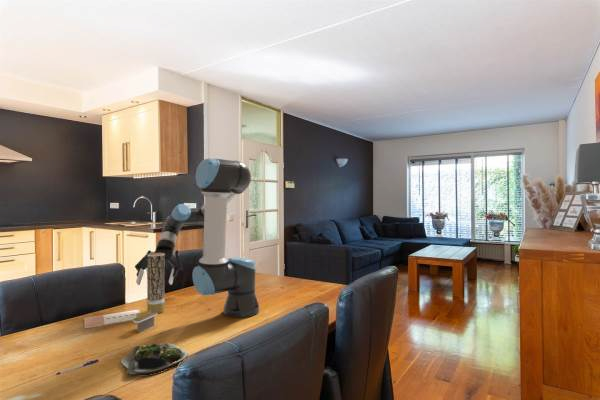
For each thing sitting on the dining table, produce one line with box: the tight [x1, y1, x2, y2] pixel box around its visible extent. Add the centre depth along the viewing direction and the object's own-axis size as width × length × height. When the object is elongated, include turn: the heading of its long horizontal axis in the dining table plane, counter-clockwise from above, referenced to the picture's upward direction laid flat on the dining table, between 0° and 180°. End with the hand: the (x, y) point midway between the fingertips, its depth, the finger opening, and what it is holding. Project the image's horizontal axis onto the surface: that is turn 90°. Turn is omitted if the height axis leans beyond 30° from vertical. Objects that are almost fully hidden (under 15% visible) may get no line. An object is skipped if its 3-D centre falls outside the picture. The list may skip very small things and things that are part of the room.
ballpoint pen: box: [56, 359, 100, 376], centre depth 97 cm, size 10×1×1 cm, turn 141°
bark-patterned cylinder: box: [146, 253, 166, 314], centre depth 146 cm, size 7×7×25 cm
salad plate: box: [121, 343, 188, 376], centre depth 102 cm, size 19×18×5 cm
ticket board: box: [83, 309, 141, 329], centre depth 137 cm, size 12×20×1 cm, turn 123°
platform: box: [132, 310, 159, 334], centre depth 126 cm, size 12×18×7 cm, turn 162°
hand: (153, 283), depth 144 cm, fingers open, 13 cm apart
